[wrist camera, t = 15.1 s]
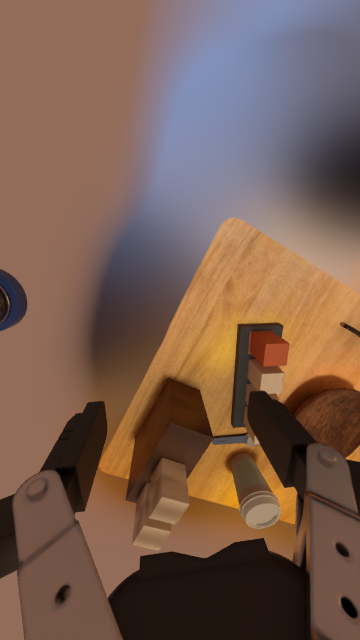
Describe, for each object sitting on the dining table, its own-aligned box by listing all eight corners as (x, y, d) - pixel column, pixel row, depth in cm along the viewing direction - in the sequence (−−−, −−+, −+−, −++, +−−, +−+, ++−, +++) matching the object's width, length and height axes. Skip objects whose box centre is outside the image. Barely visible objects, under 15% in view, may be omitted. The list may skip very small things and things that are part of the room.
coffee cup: (223, 474, 54) (239, 531, 42) (227, 448, 51) (246, 502, 40) (254, 473, 54) (278, 529, 43) (259, 448, 52) (287, 500, 41)
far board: (231, 422, 49) (242, 450, 42) (238, 324, 42) (253, 337, 35) (266, 420, 50) (284, 447, 43) (279, 323, 43) (302, 335, 36)
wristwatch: (288, 440, 52) (291, 443, 51) (212, 446, 51) (212, 449, 50) (291, 427, 51) (293, 430, 50) (212, 432, 49) (213, 436, 48)
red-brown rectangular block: (269, 351, 43) (286, 365, 37) (249, 352, 43) (263, 366, 37) (272, 332, 42) (289, 343, 36) (251, 332, 41) (265, 344, 36)
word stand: (165, 448, 50) (166, 556, 32) (135, 438, 48) (118, 545, 30) (199, 390, 46) (224, 474, 28) (168, 377, 44) (171, 458, 26)
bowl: (371, 393, 50) (393, 407, 45) (319, 458, 55) (334, 476, 50) (309, 364, 47) (326, 376, 42) (260, 437, 51) (270, 455, 46)
